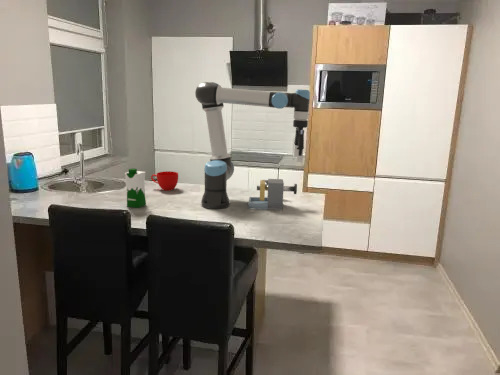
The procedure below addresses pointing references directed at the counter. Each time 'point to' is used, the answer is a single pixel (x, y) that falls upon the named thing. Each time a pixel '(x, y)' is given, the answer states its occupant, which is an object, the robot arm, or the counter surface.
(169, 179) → the ceramic cup
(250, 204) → the tray
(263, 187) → the brass ring
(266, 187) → the shaft
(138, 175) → the milk carton
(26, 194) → the counter surface
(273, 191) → the bearing block
